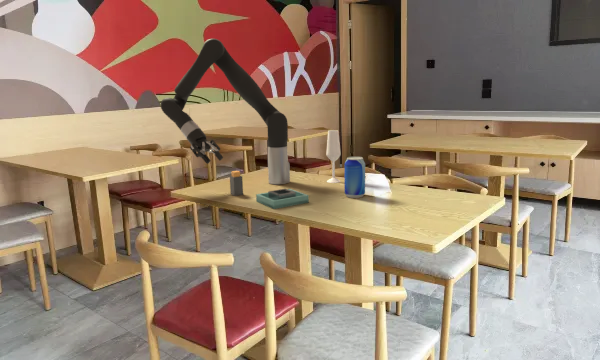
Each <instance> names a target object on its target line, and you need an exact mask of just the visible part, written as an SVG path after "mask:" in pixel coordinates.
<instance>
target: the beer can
mask: <svg viewBox="0 0 600 360" xmlns="http://www.w3.org/2000/svg"><path fill="white" fill-rule="evenodd" d="M344 194H345V196H346V197H347V198H349V199H359V198H363V197H364V195H365V194H366V163H365V161H364V158H363V157H362V156H348V157H346V160H345V162H344Z"/></svg>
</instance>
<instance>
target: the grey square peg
mask: <svg viewBox="0 0 600 360" xmlns="http://www.w3.org/2000/svg"><path fill="white" fill-rule="evenodd" d="M230 174H231V175H229V185H230V186H229V189H230V196H231V195H232V196H234V197H236V196H237V197H238V196H243V195H244V187H243V186H244V184H243V183H244V182H243V175H241V171H239V170H233V171H231V172H230Z"/></svg>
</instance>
